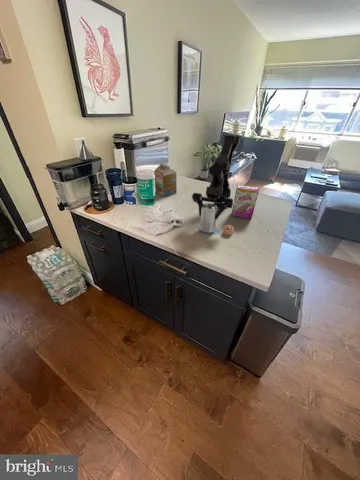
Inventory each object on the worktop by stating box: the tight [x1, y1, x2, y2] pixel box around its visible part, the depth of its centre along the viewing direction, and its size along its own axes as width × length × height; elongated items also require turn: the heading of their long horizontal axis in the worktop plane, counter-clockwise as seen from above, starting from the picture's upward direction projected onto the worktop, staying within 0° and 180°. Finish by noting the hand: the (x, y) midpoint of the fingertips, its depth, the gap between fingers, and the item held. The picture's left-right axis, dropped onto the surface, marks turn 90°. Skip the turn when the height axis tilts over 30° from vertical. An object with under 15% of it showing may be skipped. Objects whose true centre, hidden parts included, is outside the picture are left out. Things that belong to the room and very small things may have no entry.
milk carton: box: [153, 162, 178, 197], centre depth 131 cm, size 11×11×19 cm
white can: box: [199, 203, 219, 233], centre depth 93 cm, size 7×7×12 cm
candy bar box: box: [231, 184, 260, 220], centre depth 105 cm, size 11×5×16 cm, turn 71°
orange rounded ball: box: [223, 224, 235, 236], centre depth 95 cm, size 4×4×4 cm
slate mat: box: [195, 225, 223, 238], centre depth 98 cm, size 10×10×1 cm
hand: (207, 217), depth 91 cm, fingers closed on white can, 7 cm apart
